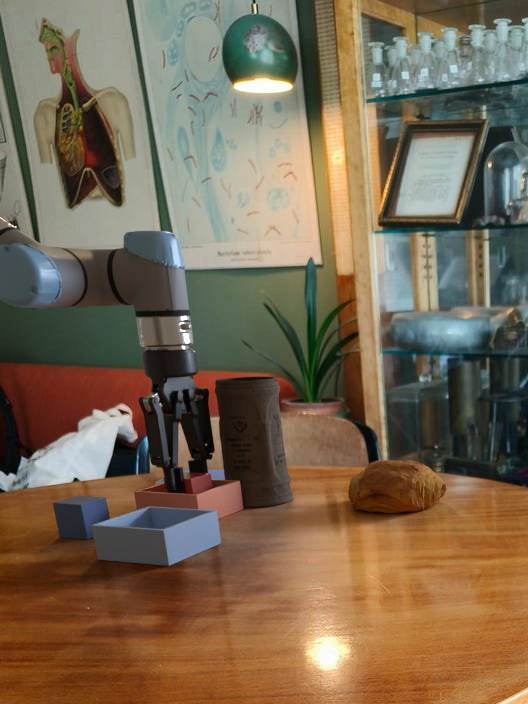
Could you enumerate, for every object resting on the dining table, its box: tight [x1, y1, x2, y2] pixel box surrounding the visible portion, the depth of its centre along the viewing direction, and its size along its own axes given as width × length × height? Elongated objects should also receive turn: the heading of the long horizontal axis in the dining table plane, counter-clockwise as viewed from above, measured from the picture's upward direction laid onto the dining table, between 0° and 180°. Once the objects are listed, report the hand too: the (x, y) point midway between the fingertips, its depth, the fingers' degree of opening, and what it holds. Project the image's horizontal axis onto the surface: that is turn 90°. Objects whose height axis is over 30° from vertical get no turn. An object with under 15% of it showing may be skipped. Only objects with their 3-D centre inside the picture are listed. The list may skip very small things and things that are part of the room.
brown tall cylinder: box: [214, 376, 294, 508], centre depth 145 cm, size 15×11×20 cm
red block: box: [164, 472, 213, 494], centre depth 136 cm, size 5×5×5 cm
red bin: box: [133, 479, 244, 520], centre depth 136 cm, size 11×11×5 cm
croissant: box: [347, 459, 447, 514], centre depth 139 cm, size 14×16×8 cm
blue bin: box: [91, 506, 222, 567], centre depth 117 cm, size 11×11×5 cm
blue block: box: [52, 495, 111, 540], centre depth 127 cm, size 5×5×5 cm
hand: (191, 505), depth 137 cm, fingers closed on red block, 5 cm apart
